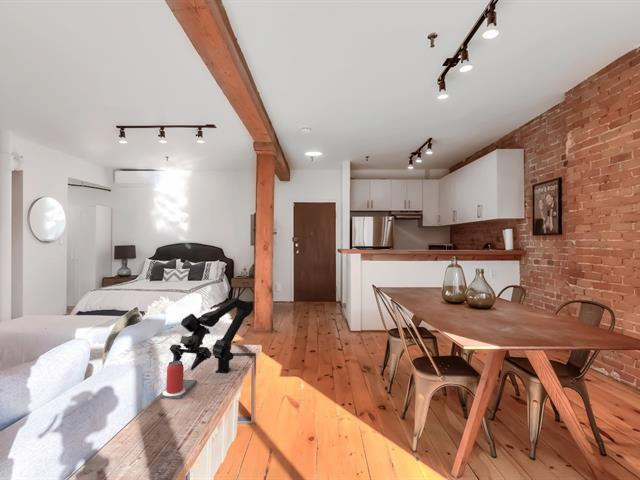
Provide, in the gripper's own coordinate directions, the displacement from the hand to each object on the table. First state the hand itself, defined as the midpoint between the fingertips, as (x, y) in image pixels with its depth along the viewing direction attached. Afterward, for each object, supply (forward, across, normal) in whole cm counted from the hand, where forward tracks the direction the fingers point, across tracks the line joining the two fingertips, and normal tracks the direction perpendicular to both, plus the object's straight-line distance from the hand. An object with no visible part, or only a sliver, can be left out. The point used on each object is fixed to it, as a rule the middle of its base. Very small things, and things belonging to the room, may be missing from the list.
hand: (182, 368), depth 150 cm
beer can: (+9, 0, +2) cm, 9 cm away
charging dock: (+7, -1, +7) cm, 9 cm away
